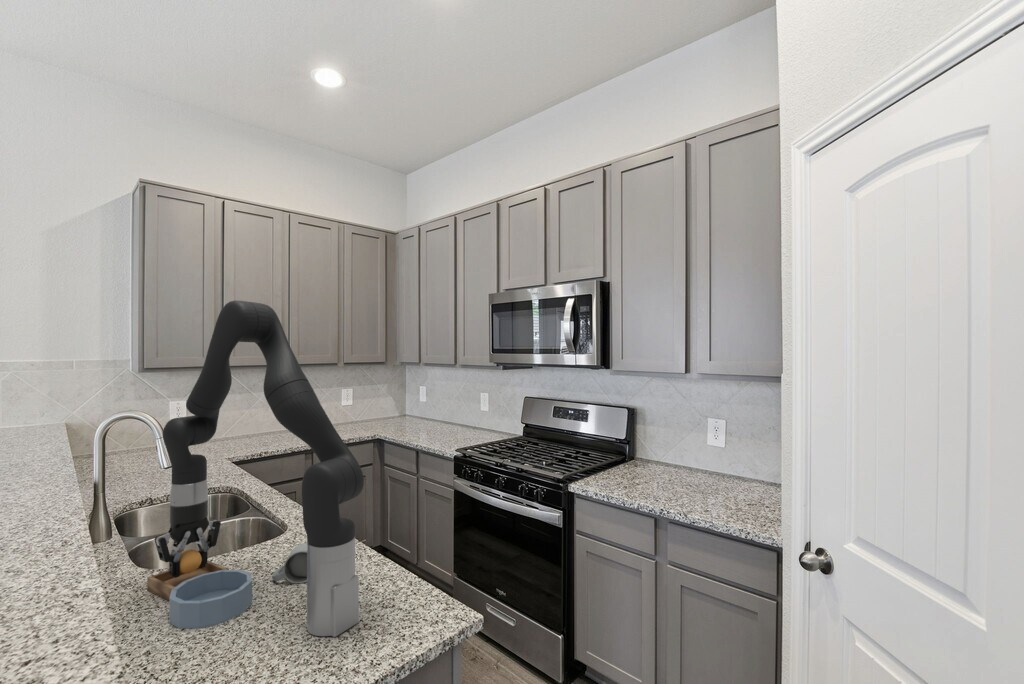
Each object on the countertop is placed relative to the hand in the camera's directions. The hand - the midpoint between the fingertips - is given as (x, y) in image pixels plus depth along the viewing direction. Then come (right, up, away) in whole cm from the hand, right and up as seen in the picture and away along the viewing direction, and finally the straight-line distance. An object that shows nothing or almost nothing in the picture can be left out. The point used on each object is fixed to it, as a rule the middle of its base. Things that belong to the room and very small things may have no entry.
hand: (188, 571), depth 115 cm
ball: (0, +2, 0) cm, 2 cm away
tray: (0, -3, 0) cm, 3 cm away
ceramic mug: (+24, -4, +4) cm, 25 cm away
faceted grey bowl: (+12, -3, -10) cm, 16 cm away
